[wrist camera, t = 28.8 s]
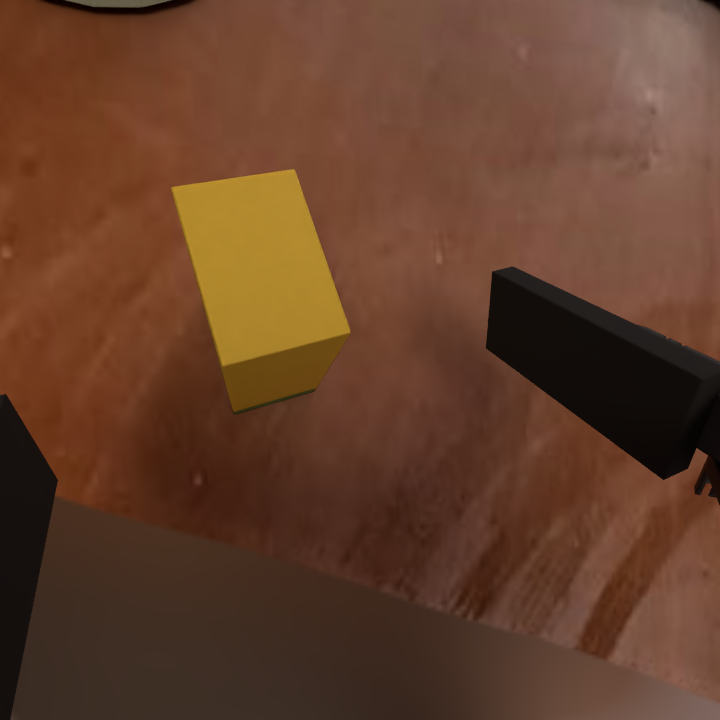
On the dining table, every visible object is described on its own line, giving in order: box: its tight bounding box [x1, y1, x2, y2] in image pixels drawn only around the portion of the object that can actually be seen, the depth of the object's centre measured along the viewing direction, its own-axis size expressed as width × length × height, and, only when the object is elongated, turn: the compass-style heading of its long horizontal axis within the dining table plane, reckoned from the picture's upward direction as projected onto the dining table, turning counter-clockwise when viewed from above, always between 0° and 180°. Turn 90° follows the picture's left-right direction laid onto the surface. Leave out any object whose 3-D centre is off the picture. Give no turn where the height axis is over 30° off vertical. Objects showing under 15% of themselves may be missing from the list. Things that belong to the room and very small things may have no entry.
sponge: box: [171, 169, 351, 414], centre depth 18 cm, size 4×6×9 cm, turn 19°
